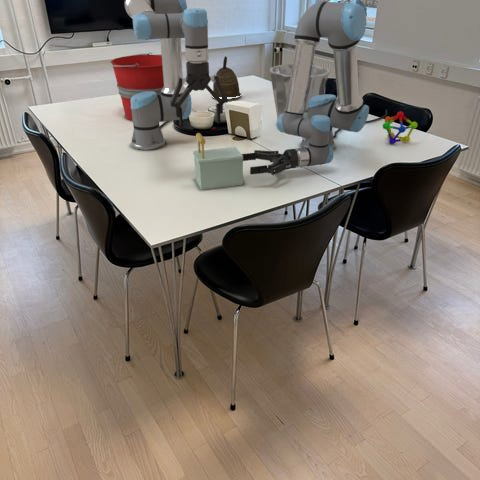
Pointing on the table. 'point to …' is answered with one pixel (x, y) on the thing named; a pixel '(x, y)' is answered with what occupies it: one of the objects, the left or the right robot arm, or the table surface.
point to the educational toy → (398, 128)
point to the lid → (215, 153)
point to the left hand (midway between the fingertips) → (200, 124)
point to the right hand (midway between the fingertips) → (244, 164)
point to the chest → (219, 173)
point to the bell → (227, 81)
